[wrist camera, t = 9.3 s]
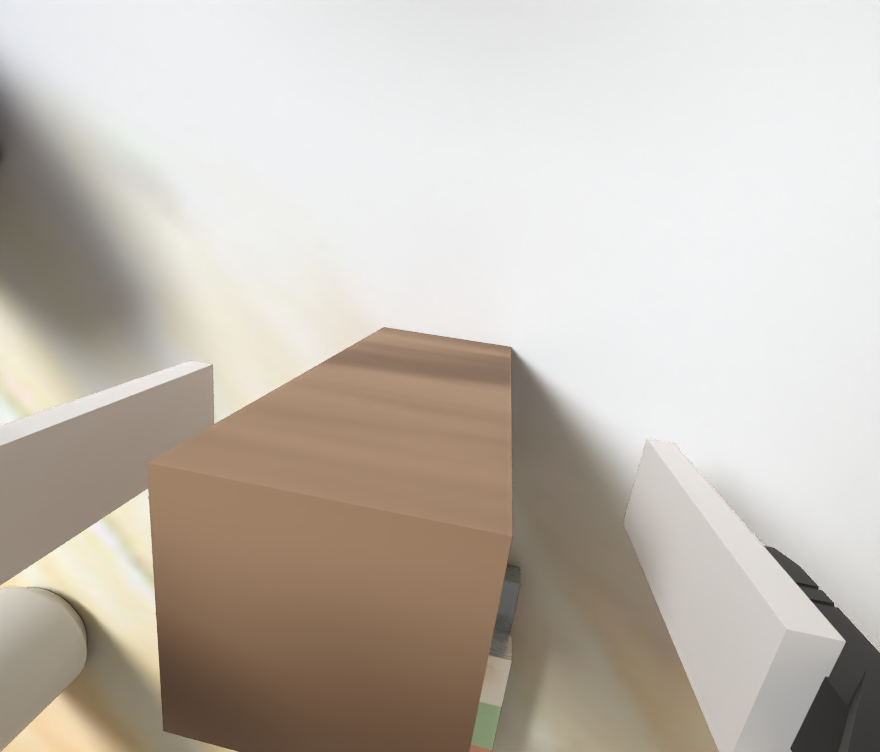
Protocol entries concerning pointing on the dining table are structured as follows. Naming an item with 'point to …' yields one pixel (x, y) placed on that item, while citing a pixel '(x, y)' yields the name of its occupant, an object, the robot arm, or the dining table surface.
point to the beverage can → (35, 654)
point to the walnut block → (339, 553)
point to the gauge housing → (497, 666)
